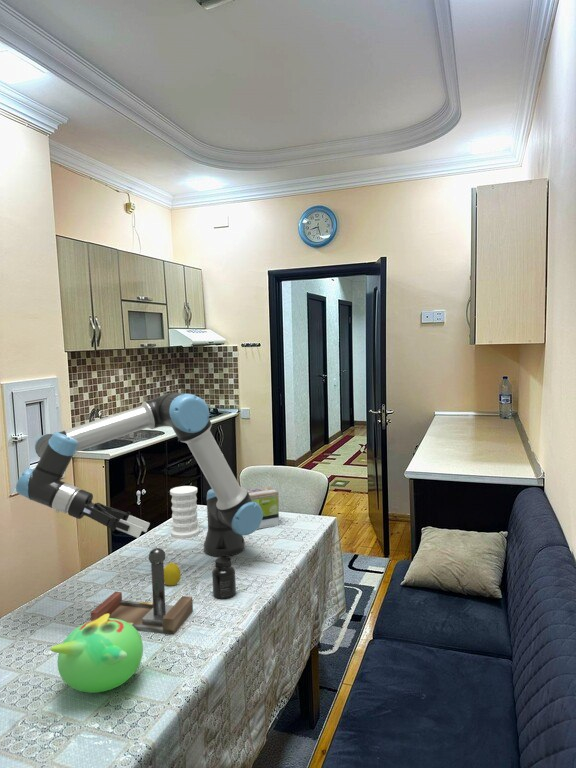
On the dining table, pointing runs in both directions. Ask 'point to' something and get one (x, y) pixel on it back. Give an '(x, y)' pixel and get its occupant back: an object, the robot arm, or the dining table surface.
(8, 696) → the dining table surface
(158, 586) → the press handle
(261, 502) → the tea box
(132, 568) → the dining table surface
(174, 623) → the press base
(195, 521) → the decorative container
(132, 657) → the toy bird
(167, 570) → the lemon
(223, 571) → the supplement bottle
